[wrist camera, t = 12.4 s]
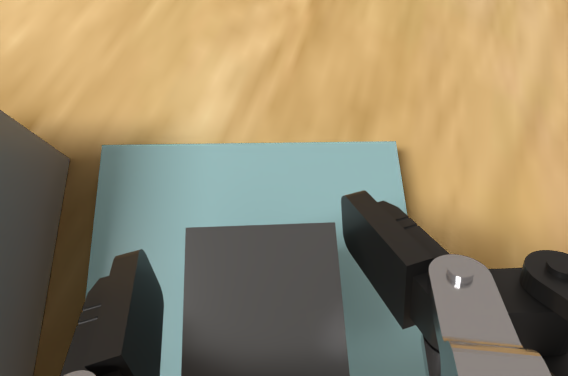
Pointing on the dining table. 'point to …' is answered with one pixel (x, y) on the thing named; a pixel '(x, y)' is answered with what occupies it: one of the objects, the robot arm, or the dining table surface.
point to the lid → (255, 255)
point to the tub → (26, 239)
